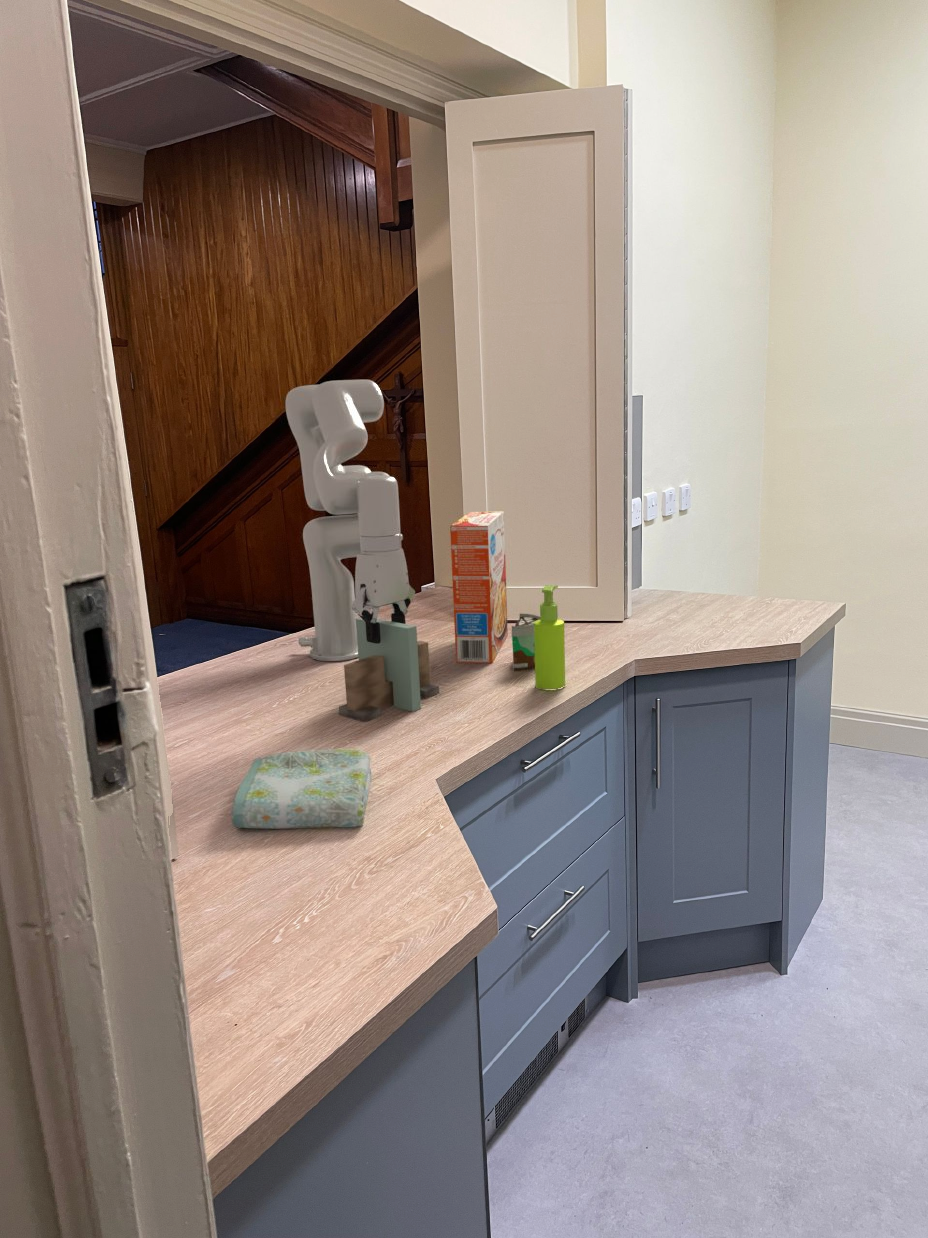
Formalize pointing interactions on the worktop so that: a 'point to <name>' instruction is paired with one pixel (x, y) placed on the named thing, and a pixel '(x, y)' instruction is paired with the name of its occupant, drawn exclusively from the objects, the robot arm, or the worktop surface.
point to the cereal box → (479, 586)
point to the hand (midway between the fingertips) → (386, 637)
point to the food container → (524, 642)
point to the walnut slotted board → (378, 685)
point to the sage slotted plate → (395, 659)
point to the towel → (304, 790)
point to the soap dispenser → (549, 644)
